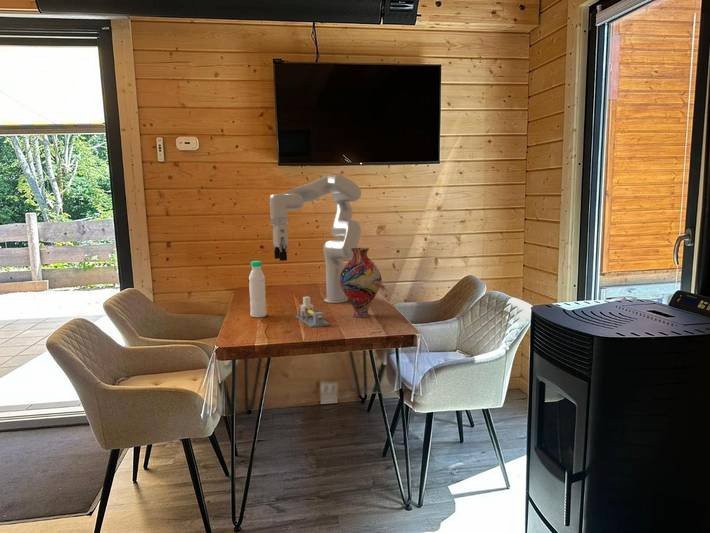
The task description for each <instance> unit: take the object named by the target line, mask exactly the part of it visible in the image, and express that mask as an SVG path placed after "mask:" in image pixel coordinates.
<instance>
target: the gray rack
mask: <svg viewBox="0 0 710 533" xmlns="http://www.w3.org/2000/svg"><path fill="white" fill-rule="evenodd" d="M313 309H314V311H312V310H310V309H309V308H305V310H306V312H307V313H309V314H310V315H312V316H308V314H306V317H304V311H302V315H301V308H300V309H299V308H298V309H297V311H298V313H297V314H298V315H295V318H296V319H298V320H299V321H301V322H302V323H303V324H305V325H307V326H308V327H310V328H316V327H317V328H318V327H325V326H326V327H327V326H330V322H328V321H326V320H324V313H323V312H322V311H319V309H315V307H314V306H313ZM315 310H316V312H315Z"/></svg>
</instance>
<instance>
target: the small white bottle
mask: <svg viewBox="0 0 710 533" xmlns="http://www.w3.org/2000/svg"><path fill="white" fill-rule="evenodd" d="M313 307H314V305H313V304H311V297H310V296H303V297H302V304H300V315H302V311H304V317H306V314H308V316H312V315H310V314H309V313H307V312H306V310H305V308H308V309H310V310H312V311H314V312H315V308H314V309H313Z"/></svg>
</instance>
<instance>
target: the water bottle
mask: <svg viewBox="0 0 710 533" xmlns="http://www.w3.org/2000/svg"><path fill="white" fill-rule="evenodd" d="M262 264H263V263H262V261H261V260H253V261H251V262H250V267H251V271H250V273H249V276H248V280H249V282H248V283H249V286H248V289H249V292H248V293H249V307H250V312H249V313H250V317H252V318H264V317H266V316H267V301H266V282H265V279H266V276H265V274H264V273H263V270H262V266H263V265H262Z"/></svg>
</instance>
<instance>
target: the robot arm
mask: <svg viewBox="0 0 710 533" xmlns="http://www.w3.org/2000/svg"><path fill="white" fill-rule="evenodd" d="M329 194H331V198H332V200H333V202H334V203H335V207H336V211H335V215H334V220H333V222H332V223H333V224H332V226H331V235H332V236H333V238H337V239H329V240H327V241H326V242H325V243H324V245H323V249H322V250H323V256H324V261H325V280H326V281H325V283H326V284H325V286H326V297H325V298H323V302H325V303H327V304H340V303H346V302H348V301H349V300H348V298H347V296H346V295H345V293H344V292H343V290H342V289H341V287H340V285H339V279H340V275H341V272H342V270H343V268H344V267H345V263H344V261H343V260H351V259H352V258H353V252H352V250H351V249H352V248H358V244H359V242H360V237H361V232H362V228H361V225H360V223H359V222H358V221H357V220H354V219H352V218H353V208H352V206H351V203H350V202H357V201H359V199H361V195H362V191H361V188H360V186H359V185H358V184H357V183H355V182H354V181H352V180H351V179H349V178H347V177H346V176H344V175H341V174H328V175H324V176H322V177H319V178H317V179H316V180H313V181H310V182H309V183H306V184H302V185H300V186H297V187H295V188H292V189H289V190H286V191H284V192H282V193H275V194H271V195H270V196H269V211H270V214H269V216H270V226H272V244H273V249H274V250H273V251H274V252H273V253H274V256H273V257H274V259H276V260H277V259H279V261H280V262H281V261H282V262H284V261H285V262H286V261H287V260H288V252H287V249H288V247H289V234H288V227H287V226H288V225H289V222H288V211H297V210H298V211H299V210H300V209H301V208H302V207H303V206H304V203H306V202H307V203H308V202H312V201H316V200H318V199H321V198H322V197H324V196H326V195H329ZM342 239H343V240H342Z"/></svg>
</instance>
